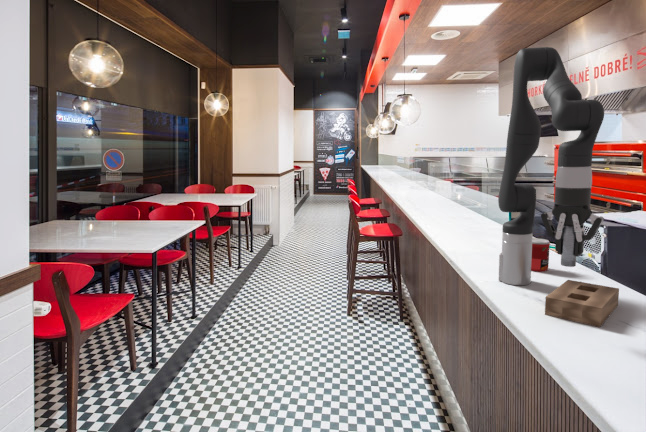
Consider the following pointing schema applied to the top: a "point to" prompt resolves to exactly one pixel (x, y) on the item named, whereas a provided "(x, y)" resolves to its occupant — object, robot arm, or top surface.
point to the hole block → (582, 302)
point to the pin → (568, 247)
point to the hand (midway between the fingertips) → (568, 254)
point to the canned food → (540, 255)
